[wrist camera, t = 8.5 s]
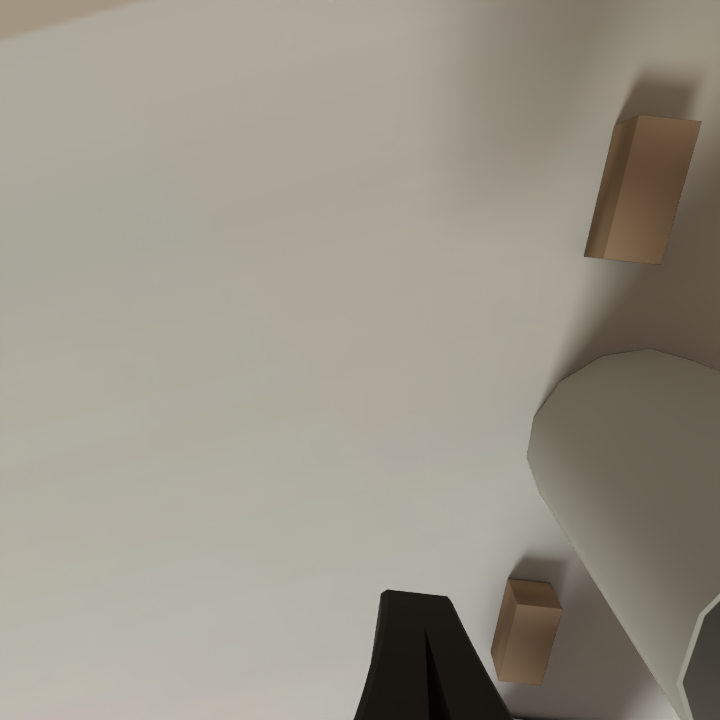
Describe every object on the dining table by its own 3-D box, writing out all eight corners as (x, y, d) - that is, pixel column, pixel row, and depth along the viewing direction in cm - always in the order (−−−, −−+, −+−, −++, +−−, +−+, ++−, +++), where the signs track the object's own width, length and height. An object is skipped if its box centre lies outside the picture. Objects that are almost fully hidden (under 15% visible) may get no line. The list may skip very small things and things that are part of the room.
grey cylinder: (546, 342, 18) (745, 473, 8) (754, 354, 18) (1207, 501, 8) (515, 522, 20) (642, 786, 11) (698, 533, 20) (996, 813, 10)
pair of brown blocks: (530, 656, 22) (540, 685, 21) (490, 651, 22) (498, 680, 21) (671, 131, 16) (701, 121, 14) (614, 126, 16) (639, 114, 14)
